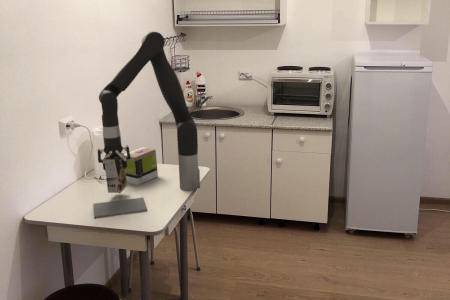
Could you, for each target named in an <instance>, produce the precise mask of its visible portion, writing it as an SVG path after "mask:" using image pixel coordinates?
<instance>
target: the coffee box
mask: <svg viewBox="0 0 450 300" xmlns="http://www.w3.org/2000/svg"><path fill="white" fill-rule="evenodd" d="M121 153H122V152H121ZM124 153H125V152H123V153H122V154H123V155H124ZM103 159H104V158H103ZM104 161H105V170H106V171H105V170H104V171H105V178H106V187H107V193H109V194H110V193H111V194H112V193H113V194H121V193H122V192H123V191H124V190H125V188H127V187H128V183H127V179H126V170H125V169H124V162H123V159H122V158H121V157H120V156H116V157H109V158H106V159H104Z"/></svg>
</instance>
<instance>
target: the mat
mask: <svg viewBox="0 0 450 300" xmlns="http://www.w3.org/2000/svg"><path fill="white" fill-rule="evenodd" d="M143 212H148V207H147V205H146V202H145V199H144V197H143V196H142V197H136V198H127V199H120V200H112V201H105V202H104V201H103V202H102V201H101V202H97V203H93V217H94V219H100V218H107V217H113V216H121V215H128V214H137V213H143Z"/></svg>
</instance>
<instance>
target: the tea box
mask: <svg viewBox="0 0 450 300" xmlns="http://www.w3.org/2000/svg"><path fill="white" fill-rule="evenodd" d="M129 151H130V159H128V160H127V167H126V169H125V170H126V179H127V184H131V185H134V186H139V185H141V184H143V183H146V182H148V181H150V180H152V179H155V178H156V177H158V176H159V173H158V172H159V171H158V162H157V150H156V149H154V148H149V147H145V146H140V147H138V148H135V149H132V150H129ZM123 153H124V156H125V157H126V156H127V152H123Z"/></svg>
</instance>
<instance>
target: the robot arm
mask: <svg viewBox="0 0 450 300" xmlns="http://www.w3.org/2000/svg"><path fill="white" fill-rule="evenodd" d="M141 38H142V39H141V45H140V47H139V48H138V50H137V51H136V53H135V54H134V55H133V56H132V57H131V58H130V59H129V61H128V62H126V64H125V65H124V66H122V68H120V70H119V71H118V72H117V74H115V76H114V77H113V79H112V80H111V81H110V82H108V84H107V85H106V86H104V88H103V89H102V90H101V92H100V93H99V95H98V100H99V102H100V104H101V111H102V114H101V123H102V137H103V146H104V148H97V162H98V163H99V164H100V163H101V164H102V168H103V171H105V172H106V170H105V161H104V159H106V158H109V157H116V156H120V157H121V158H122V159H123V162H124V169H126V167H127V160H128V159H130V151H131V150H130V147H129V145H125V146H122V145H123V144H122V136H121V130H120V125H119V124H120V122H119V121H120V120H119V115H118V111H119V109H118V108H119V106H118V103H119V102H118V97H119V96H120V95H121V94H122V93H123V92H125V91H126V90H127V89H128V88H129V86H130V85H131V84H132V83H133V81H134V80H135V79H136V77H138V75H139V73H140V72H141V71H142V70H143V69H144V67H146V66H147V64H148V63H149V62H150V64H151V66H152V69H153V72H154V75H155V78H156V81H157V85H158V87H159V90H160V92H161V95H162V97H163V99H164V101H165V103H166V104H167V106H168V108H169V109H170V111H171V113H172V115H173V118H174V121H175V125H176V126H175V127H176V137H177V140H176V141H177V157H178V158H177V159H178V174H179V177H178V178H179V189H180V190H182V191H186V192H187V191H189V192H190V191H196V190H198V189H201V176H200V168H199V156H198V155H199V154H198V153H199V152H198V151H199V150H198V149H199V144H198V128H197V124H196V122H195V120H194V119H193V117H192V115H191V112H190V111H189V108H188V106H187V103H186V99H185V95H184V91H183V88H182V86H181V82H180V79H179V78H178V76H177V74H176V72H175V71H174V68H173V67H172V65H171V64H170V63H169V61H168V58H167V56H166V53H165V49H164V48H165V44H166V42H165V38H164V35H162V33H160V32H158V31H148V32H146V33H144V34H143V36H142V37H141ZM123 151H124V152H126V153H127V156H126V157H125V156H124V155H123V154H122V152H123ZM103 153H105V155H104V157H103V158H102V154H103Z"/></svg>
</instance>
